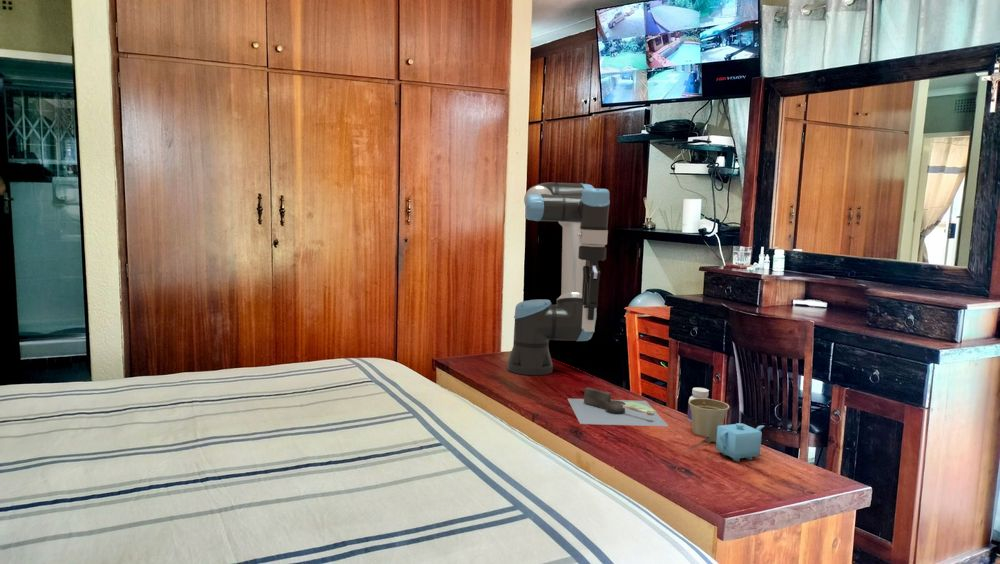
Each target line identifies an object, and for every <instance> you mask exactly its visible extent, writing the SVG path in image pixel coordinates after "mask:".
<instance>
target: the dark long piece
mask: <svg viewBox="0 0 1000 564" xmlns="http://www.w3.org/2000/svg"><path fill="white" fill-rule="evenodd" d="M583 394H584V395H583V399H584V403H586V404H590V405H594V406H597V407H601V408H605V409H606V411H608V412H611V413H624V412H625V408H626V409H630V410H633V411H637V412H641V413H645V414H647V415H653V416H654V412H653V411H646V410H642V409H638V408H635V407H631V406H627V405H625V403H624V402H622V401H616V400H617V399H612V393H611V392H608V391H607V392H606V391H603V390H600V389H599V390H598V389H596V388H591V387H585V388H584V393H583Z"/></svg>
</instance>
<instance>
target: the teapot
mask: <svg viewBox="0 0 1000 564" xmlns="http://www.w3.org/2000/svg"><path fill="white" fill-rule="evenodd" d="M764 427H765V425H763V424H762V425H758V426H757V427H756V428H755V427H752V426H749V425H747V424H745V423H741V422H738V423H737V422H736V423H734V424H733V423H732V424H723V425H720V426H718V428H717V440H716V442H715V450H717V451H718V452H720V453H721V455H723V456H728V457H730V458H731V459H732V461H733V462H740V460H741V459H744V458H745V459H747V460H750V461H751V460H753V459H754V458H753V457H760V456H761V449H762V448H761V447H762V436H763V435H762V429H763V428H764Z"/></svg>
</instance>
